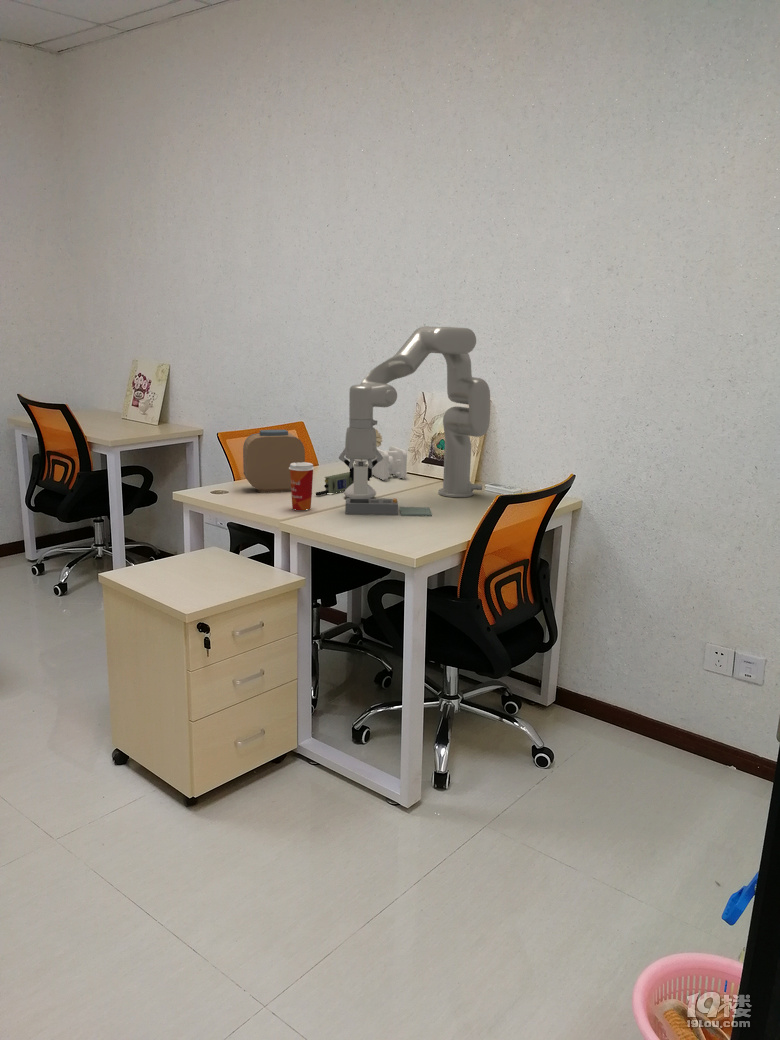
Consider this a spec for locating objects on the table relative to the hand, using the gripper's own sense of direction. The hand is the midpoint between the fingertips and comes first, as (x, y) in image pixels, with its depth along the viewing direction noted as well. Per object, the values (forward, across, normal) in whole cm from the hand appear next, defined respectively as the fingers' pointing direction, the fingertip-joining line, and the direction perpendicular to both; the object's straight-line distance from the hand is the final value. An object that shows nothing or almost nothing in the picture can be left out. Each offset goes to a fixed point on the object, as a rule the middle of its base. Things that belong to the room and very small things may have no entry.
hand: (360, 479), depth 270 cm
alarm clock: (+11, +31, -31) cm, 45 cm away
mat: (+11, -18, 0) cm, 21 cm away
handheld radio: (+11, +8, -30) cm, 33 cm away
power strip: (+11, -4, 0) cm, 11 cm away
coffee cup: (+11, +19, -2) cm, 22 cm away
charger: (+4, 0, 0) cm, 4 cm away
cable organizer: (+12, -11, -57) cm, 59 cm away
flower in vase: (+11, -1, -20) cm, 23 cm away
